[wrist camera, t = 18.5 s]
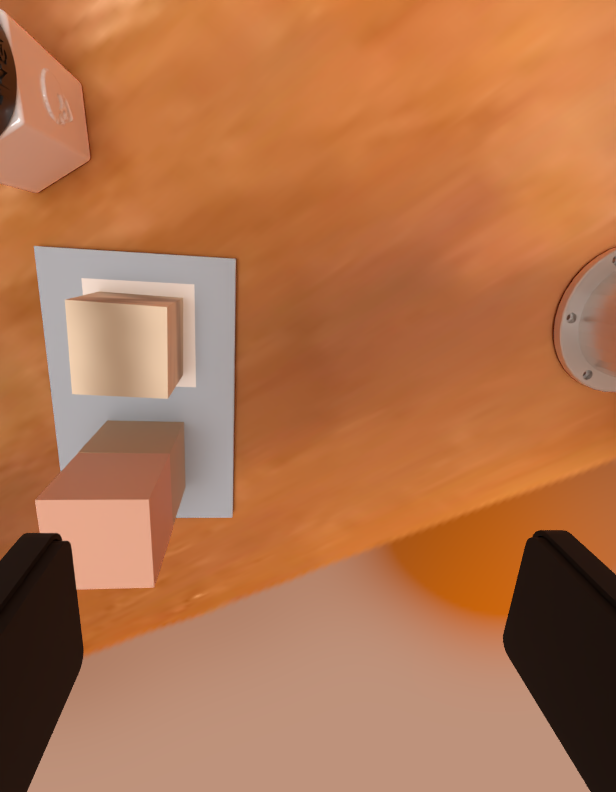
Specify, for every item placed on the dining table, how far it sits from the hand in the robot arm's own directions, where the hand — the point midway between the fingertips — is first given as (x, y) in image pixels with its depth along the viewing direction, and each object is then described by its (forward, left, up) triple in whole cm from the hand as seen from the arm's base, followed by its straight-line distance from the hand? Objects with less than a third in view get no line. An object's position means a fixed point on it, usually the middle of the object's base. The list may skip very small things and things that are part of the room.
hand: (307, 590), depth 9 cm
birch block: (+10, 0, -27) cm, 29 cm away
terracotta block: (+10, +10, -21) cm, 25 cm away
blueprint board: (+10, +5, -28) cm, 30 cm away
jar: (+17, -14, -28) cm, 36 cm away
